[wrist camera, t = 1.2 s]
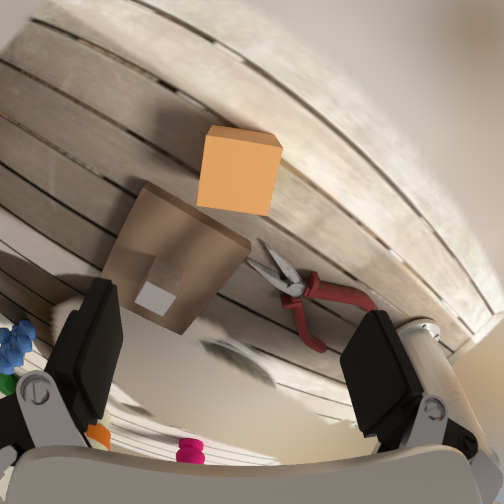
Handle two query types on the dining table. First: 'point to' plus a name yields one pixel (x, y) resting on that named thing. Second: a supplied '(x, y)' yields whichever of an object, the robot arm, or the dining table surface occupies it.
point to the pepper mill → (190, 451)
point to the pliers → (308, 294)
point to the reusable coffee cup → (100, 433)
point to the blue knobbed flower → (15, 345)
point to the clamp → (8, 384)
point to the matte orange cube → (238, 170)
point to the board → (171, 259)
